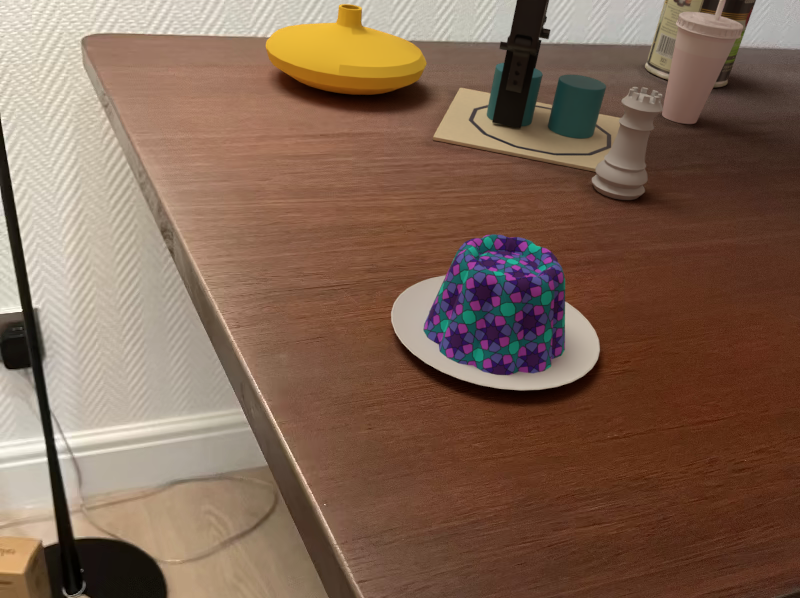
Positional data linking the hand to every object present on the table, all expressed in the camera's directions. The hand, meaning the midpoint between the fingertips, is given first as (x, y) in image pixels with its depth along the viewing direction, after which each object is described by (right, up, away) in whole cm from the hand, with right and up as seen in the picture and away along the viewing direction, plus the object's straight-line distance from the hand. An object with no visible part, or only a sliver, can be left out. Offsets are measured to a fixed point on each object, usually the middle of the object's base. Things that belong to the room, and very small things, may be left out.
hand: (509, 115), depth 77 cm
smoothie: (+19, +3, +8) cm, 21 cm away
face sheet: (+3, -2, -1) cm, 3 cm away
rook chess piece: (+7, -10, -10) cm, 16 cm away
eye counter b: (+6, -2, 0) cm, 6 cm away
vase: (-16, +4, +4) cm, 17 cm away
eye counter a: (0, 0, 0) cm, 0 cm away
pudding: (-5, -24, -31) cm, 39 cm away
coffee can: (+25, +13, +23) cm, 36 cm away
